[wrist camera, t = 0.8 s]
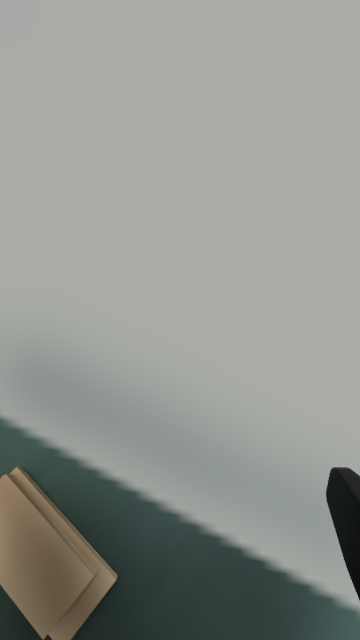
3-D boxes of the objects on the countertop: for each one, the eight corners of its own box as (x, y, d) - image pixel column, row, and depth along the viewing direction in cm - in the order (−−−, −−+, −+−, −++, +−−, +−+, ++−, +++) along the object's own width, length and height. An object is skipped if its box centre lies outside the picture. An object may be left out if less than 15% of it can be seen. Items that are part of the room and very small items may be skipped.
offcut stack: (67, 640, 17) (55, 663, 15) (-29, 519, 19) (-52, 523, 16) (118, 574, 18) (114, 585, 16) (23, 468, 20) (8, 465, 18)
